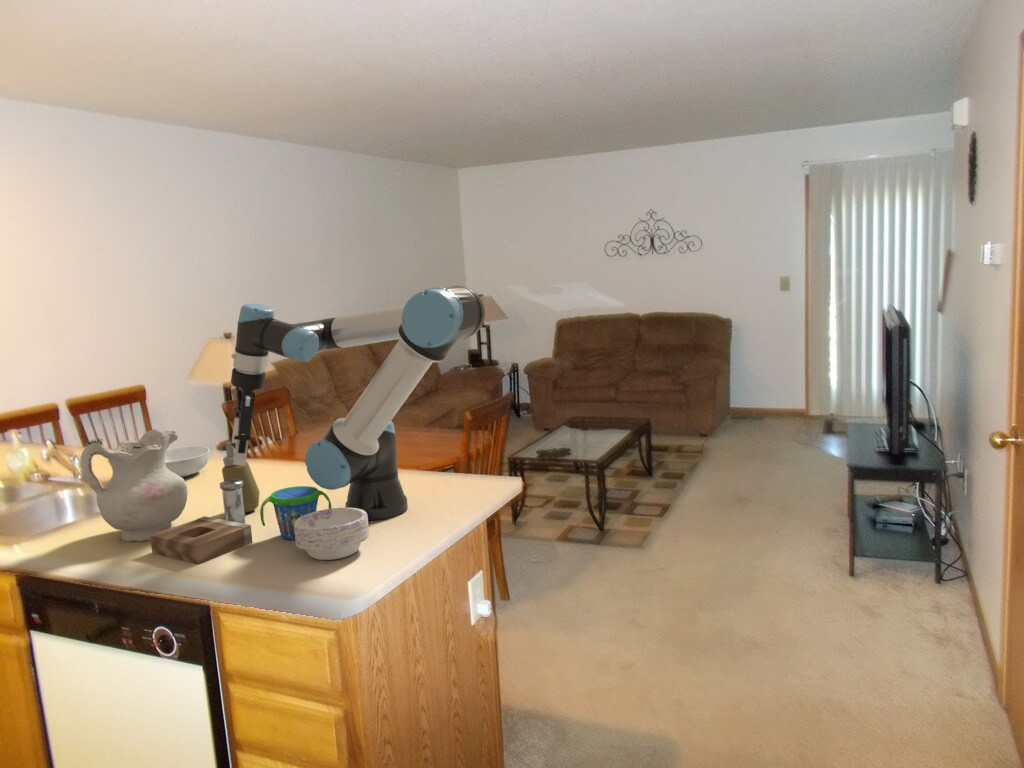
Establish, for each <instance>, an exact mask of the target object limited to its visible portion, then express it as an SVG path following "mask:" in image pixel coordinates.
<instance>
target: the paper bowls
mask: <svg viewBox="0 0 1024 768" xmlns="http://www.w3.org/2000/svg"><path fill="white" fill-rule="evenodd" d="M331 508H332V509H329V508H328V509H327V508H326V509H325V508H324V509H320V510H316V512H312V513H309V514H306V515H303V516H301V517H300V518H298V519H297V520H296V521H295V522H294V530H295V539H294V540H295V541H294V542H295V545H296V547H297V548H299V549H300V550H304V551H306V553H307V554H308V556H309V557H311V558H313V559H315V560H320V561H332V560H333V561H334V560H340V559H343V558H347V557H350V556H352V555H353V554H355V553H356V552H357V551H358V550H359V548H360V546H361V543H363V542H364V541H366V540H367V539H368V538H369V537H370V528H369V527H370V526H369V520H368V515H367V513H366V512H365V511H364V510H361V509H357V508H345V507H331Z"/></svg>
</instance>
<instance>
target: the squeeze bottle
mask: <svg viewBox="0 0 1024 768" xmlns="http://www.w3.org/2000/svg"><path fill="white" fill-rule="evenodd" d="M225 450H226V452H225V453H226V456H225V457H223V458H222V461H223V465H224V466H223V467H222V469H221V473H222V478H223V481H227V480H233V479H240V480H243V486H242V496H243V505H244V514H246V513H250V512H252V511H255V510H256V509H257V508H259V506H260V504H259V503H260V490H259V487H258V485H257V481H256V479H255V477H254V475H253V472H252V470H251V467H250V465H249V462H248V461H246V465H233V462H234V454H235V447H234V446H233V443H232V441H229V442H226V443H225Z"/></svg>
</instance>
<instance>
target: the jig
mask: <svg viewBox="0 0 1024 768" xmlns="http://www.w3.org/2000/svg"><path fill="white" fill-rule="evenodd" d="M175 526H176V525H175ZM149 541H150V546H151V554H154V555H155V554H156V555H159V556H163V557H168V558H170V559H175V560H179V561H184V562H188V563H192V564H197V565H200V564H203V563H206V562H208V561H210V560H213V559H215V558H217V557H220V556H223V555H225V554H228V553H230V552H233V551H235V550H238V549H240V548H243V547H245V546H248V545H250V544H253V534H252V525H251V524H247V523H246V524H243V523H237V522H232V521H227V520H225V519H221V518H215V517H210V516H205V515H204V516H201V517H198V518H196V519H194V520H191V521H187V522H185V523H182V524H180V525H177V526H176V527H173V528H170V529H168V530H165V531H162V532H159V533H156V534H153V535H150V540H149Z"/></svg>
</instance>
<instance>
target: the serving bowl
mask: <svg viewBox="0 0 1024 768" xmlns="http://www.w3.org/2000/svg"><path fill="white" fill-rule="evenodd" d="M210 451H211V450H210V448H209V447H206V446H196V445H195V446H193V445H192V446H179V447H178V446H177V447H172V448H171V447H170V448H167V450H166V454H165V464H166V467H167V468H168V469H169V470H170V471H171V472H173V473H175V474H177V475H178V476H180V477H181V478H183V479H184V478H186V477H189V476H192V475H194V474H196V473H198V472H199V471H202V470H203V469H204V468H205V466H207V464H208V462H209V460H210V453H211V452H210Z"/></svg>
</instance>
